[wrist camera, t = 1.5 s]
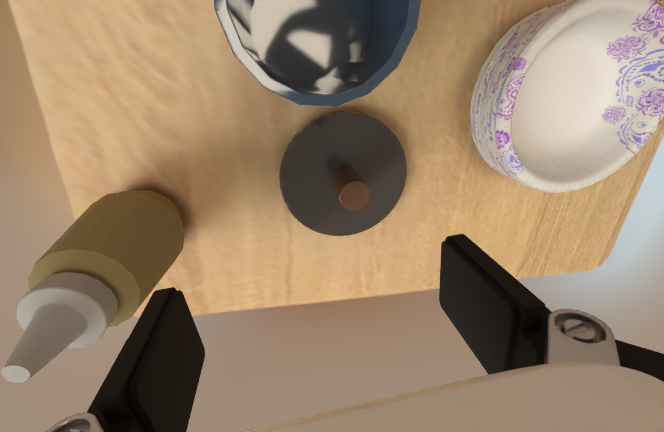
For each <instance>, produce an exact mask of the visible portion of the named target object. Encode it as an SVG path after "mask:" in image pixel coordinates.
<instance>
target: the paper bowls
mask: <svg viewBox="0 0 664 432" xmlns="http://www.w3.org/2000/svg"><path fill="white" fill-rule="evenodd" d="M663 117H664V8H663V7H662V6H661V5H660V4H658V3H657V2H656V1H654V0H568V1H564V2H560V3H557V4H552V5H550V6H547V7H544V8H542V9H540V10H538V11H536V12H534V13H531V14H530V15H528V16H527V17H525V18H524V19H522V20H521V21H519V22H518V23H516V24H515V25H514V26H512V27H511V28H510V29H509V30H508V31H507V32H506V34H505V35H504V36H503V37H502V38H501V39H500V40H499V41H498V42H497V44H496V45H495V47H494V48H493V50H492V52H491V53H490V55H489V56H488V58H487V60H486V61H485V63H484V65H483V67H482V69H481V71H480V74H479V76H478V78H477V83H476V84H475V87H474V91H473V95H472V100H471V108H470V125H471V132H472V137H473V140H474V143H475V145H476V148H477V150H478V152H479V153H480V155H481V157H482V158H483V159H484V161H485V162H486V163H487V164H488V165H489V166H490V167H492V168H493V169H494V170H496V171H497V172H499V173H501V174H503V175H505V176H507V177H509V178H511V179H512V180H514V181H517V182H519V183H521V184H523V185H526V186H528V187H530V188H532V189H534V190H537V191H542V192H568V191H573V190H577V189H581V188H584V187H587V186H590V185H592V184H594V183H597V182H599V181H601V180H602V179H604V178H606V177H608V176H609V175H611V174H612V173H614V172H615V171H617V170H618V169H619V168H621V167H622V166H623V165H624V164H626V163H627V162H628V161H629V160H630V159H631V158H632V157H633V156H634V155H635V154H636V153H637V152H638V151H639V150H640V149H641V148H642V147H643V146H644V144H645V143H646V142H647V141H648V140H649V138H650V137H651V136H652V134H653V133H654V132H655V130H656V129H657V127H658V125H659V124H660V122H661V120H662V119H663Z"/></svg>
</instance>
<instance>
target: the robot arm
mask: <svg viewBox="0 0 664 432" xmlns="http://www.w3.org/2000/svg"><path fill="white" fill-rule="evenodd" d="M439 300H440V305H441V307H442V309H443V310H444V312H445V313H446V314H447V316H448V317H449V319H450V320H451V322H452V323H453V324H454V326H455V327H456V329H457V330H458V331H459V333H460V334H461V336H462V337H463V339H464V340H465V342H466V343H467V344H468V346H469V347H470V349H471V350H472V351H473V353H474V354H475V356H476V357H477V359H478V360H479V361H480V363H481V364H482V366H483V367H484V369H485V370H486V371H487V373H488V374H489V375H486V376H481V377H476V378H471V379H467V380H463V381H458V382H454V383H449V384H445V385H440V386H436V387H431V388H427V389H422V390H418V391H414V392H409V393H405V394H401V395H396V396H392V397H388V398H383V399H379V400H374V401H370V402H366V403H362V404H357V405H353V406H348V407H344V408H340V409H336V410H331V411H328V412H323V413H319V414H314V415H310V416H306V417H302V418H297V419H293V420H289V421H285V422H280V423H277V424H272V425H268V426H264V427H260V428H255V429H251V430H247V431H243V432H664V354H662V353H659V352H655V351H652V350H649V349H645V348H642V347H638V346H635V345H632V344H628V343H625V342H622V341H618V340H615V339H614V335H613V333H612V331H611V329H610V328H609V327H608V326H607V325H606V324H605V323H604V322H602V321H601V320H600V319H598V318H597V317H595V316H593V315H590V314H588V313H586V312H582V311H579V310H573V309H559V310H555V311H553V312H551V311H550V310H549V309H548V308H546V307H545V304H544V303H543V302H542V301H541V300H539V299H538V298H537V297H536V296H535V295H534V294H533V293H531V292H530V291H529V290H528V289H527V288H526V287H524V286H523V285H522V284H521V283H520V282H519V281H517V280H516V279H515V278H514V277H513V276H512V275H511V274H509V273H508V272H507V271H506V270H505V269H504V268H502V267H501V266H500V265H499V264H498V263H497V262H496V261H494V260H493V259H492V258H491V257H490V256H489V255H487V254H486V253H485V252H484V251H483V250H482V249H480V248H479V247H478V246H477V245H476V244H475V243H474V242H472V241H471V240H470V239H469V238H468V237H467V236H465V235H464V234H459V235H453V236H448V237H447V238H446V240H445V241H443V242H442V246H441V270H440V295H439ZM204 357H205V350H204V346H203V344H202V341H201V338H200V336H199V333H198V331H197V328H196V326H195V323H194V321H193V318H192V315H191V313H190V310H189V308H188V305H187V303H186V300H185V298H184V295H183V293H182V291H180V290H179V291H177V290H176V289H175V288H173V287H172V288H167V289H161V290H156V291H155V292H154V293H153V295H152V296H151V298H150V300H149V302H148V304H147V306H146V307H145V309H144V311H143V313H142V315H141V316H140V318H139V320H138V322H137V324H136V325H135V327H134V329H133V331H132V333H131V335H130V337H129V338H128V339H127V341H126V342H125V344H124V346H123V348H122V350H121V351H120V353H119V355H118V357H117V359H116V361H115V362H114V364H113V366H112V368H111V370H110V372H109V373H108V375H107V377H106V379H105V380H104V382H103V384H102V386H101V388H100V389H99V391H98V393H97V395H96V397H95V399H94V400H93V402H92V404H91V406H90V407H89V409H88V411H87V413H86V412H85V413H78V414H75V415H72V416H69V417H67V418H65V419H63V420H61V421H60V422H58V423H56V424H55V425H53V426H52V427H51V428H49V430H47V431H46V432H186V430H187V426H188V422H189V418H190V414H191V410H192V406H193V402H194V398H195V394H196V390H197V386H198V382H199V378H200V374H201V370H202V366H203V361H204Z"/></svg>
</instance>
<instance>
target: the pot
mask: <svg viewBox="0 0 664 432" xmlns="http://www.w3.org/2000/svg"><path fill="white" fill-rule="evenodd" d="M420 2H421V0H214V6H215V11H216V14H217V16H218V19H219V21H220V23H221V26H222V28H223V30H224V32H225V35H226V37H227V39H228V42H229V44H230V46H231V49H232V51H233V53H234V55H235V57H236V58H237V59H238V60H239V61H240V62H241V63H242V64H243V65H244V66H245V67H246V68H247V70H248V71H249V72H250V73H251V74H252V75H253V76H254V77H255V78H256V79H257V80H258V81H259V82H260V84H261V85H262V86H263V87H265V88H266V89H268V90H270V91H272V92H274V93H276V94H279V95H281V96H283V97H285V98H287V99H289V100H291V101H293V102H295V103H297V104H300V105H318V106H338V105H340V104H343V103H345V102H348V101H351V100H353V99H356V98H358V97H361V96H364V95H366V94H368V93H370V92H371V91H372V90H373V89H374V88H375V87H377V86H378V85H379V84H380V83H381V82H382V81H383V80H384V79H385V78H386V77H387V76H388V75H389V74H390V73H391V72H392V71H394V70H395V69H396V68H397V66H398V65H399V63H400V61H401V59H402V57H403V55H404V53H405V51H406V49H407V47H408V45H409V43H410V41H411V39H412V37H413V35H414V33H415V31H416V28H417V22H418V15H419V8H420Z"/></svg>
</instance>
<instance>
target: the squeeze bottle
mask: <svg viewBox="0 0 664 432" xmlns="http://www.w3.org/2000/svg"><path fill="white" fill-rule="evenodd" d="M183 241H184V229H183V224H182V218H181V215H180V212H179V210H178V207H177V206H176V205H175V204H174V203H173V202H172V201H171V200H170V199H169V198H168V197H166V196H164V195H162V194H160V193H158V192H154V191H148V190H136V191H126V192H120V193H114V194H108V195H106V196H104V197H102V198H101V199H99V200H98V201H96V202H95V203H93V204H92V205H91V206H90V207H89V208H88V209H87V210H86V211H85V212H84V213H83V214H82V215H81V216H80V217H79V218H78V219H77V220H76V221H75V223H74V224H73V225H72V226H71V227H70V228H69V229H68V230H67V231H66V232H65V233H64V234H63V235H62V236H61V237H60V238H59V239H58V240H57V241H56V242H55V243H54V245H53V246H52V247H51V248H50V249H49V250H48V251H47V252H46V253H45V254H44V255H43V256H42V257H41V258H40V259H39V260H38V261H37V262H36V264H35V265H34V267H33V269H32V271H31V273H30V275H29V277H28V280H29V288H30V291H29V292H27V293H26V294H25V295H24V296H23V297H22V298H21V300H20V302H19V304H18V305H17V308H16V315H17V321H18V323H19V325H20V326H21V327H22V329H23V330H24V331H25V332H24V333H23V335H22V337H21V338H20V340H19V342H18V344H17V345H16V347H15V349H14V350H13V352H12V354H11V356H10V357H9V359H8V361H7V363H6V364H5V366H4V368H3V370H2V372H1V373H2V376H3V377H4V378H5V379H7V380H8V381H11V382H16V383H21V382H25V381H27V380H28V379H30V378H31V377H32V376H33V375H34V374H36V372H38V371H39V370H40V369H41V368H43V367H44V366H45V365H46V364H47V363H49V361H51V360H52V359H53V358H54V357H56V356H57V355H58V354H59V353H60V352H62V351H63V350H64V349H65V348H71V349H74V348H78V347H83V346H88V345H90V344H92V343H94V342H95V341H97V340H99V339H100V338H101V337H102V336H103V334H104V333H105V331H106V330H107V328H108V327H112V326H117V325H119V324H120V323H122V322H124V321H125V320H127V319H129V318H130V317H132V316H133V314H134V313H135V312H136V310H137V309H138V308H139V306H140V305H141V304H142V303H143V301H144V300H145V299H146V297H147V296H148V295H149V294H150V292H151V291H152V290H153V288H154V287H155V286H156V284H157V283H158V282H159V281H160V279H161V278H162V277H163V275H164V274H165V273H166V272H167V270H168V269H169V268H170V266H171V265H172V264H173V263H174V261H175V260H176V258H177V257H178V255H179V254H180V252H181V251H182V249H183Z"/></svg>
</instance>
